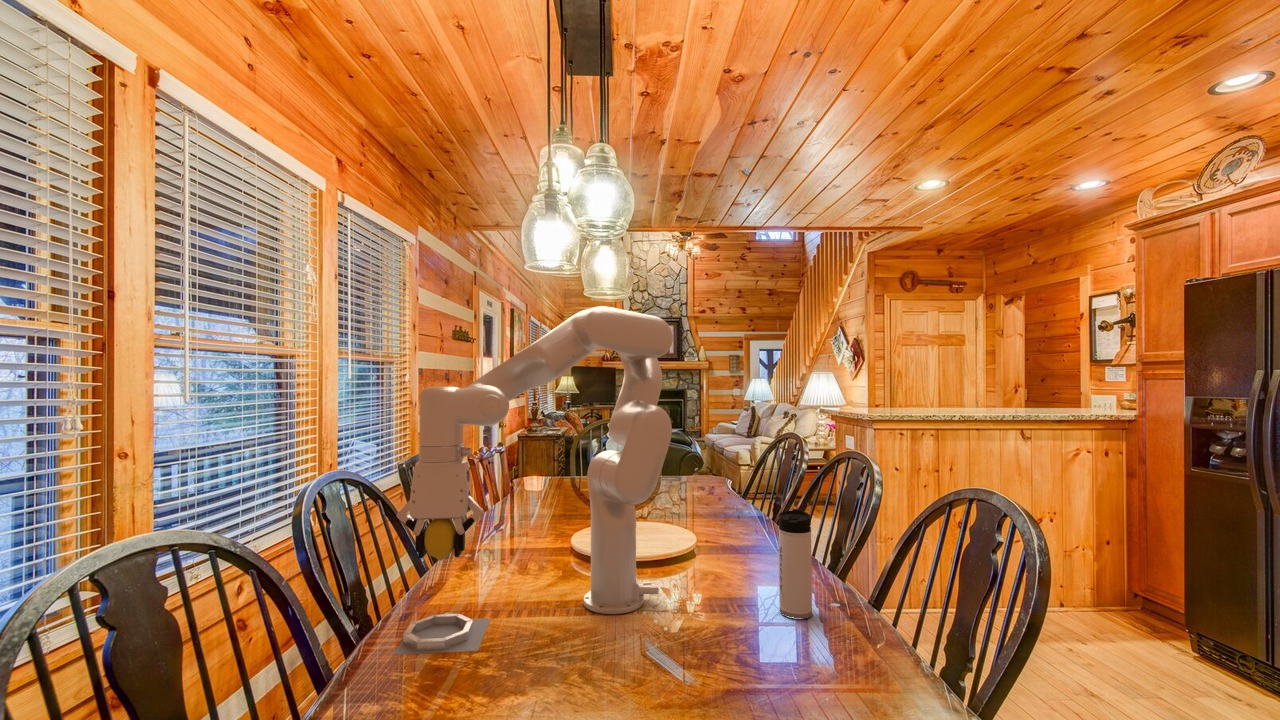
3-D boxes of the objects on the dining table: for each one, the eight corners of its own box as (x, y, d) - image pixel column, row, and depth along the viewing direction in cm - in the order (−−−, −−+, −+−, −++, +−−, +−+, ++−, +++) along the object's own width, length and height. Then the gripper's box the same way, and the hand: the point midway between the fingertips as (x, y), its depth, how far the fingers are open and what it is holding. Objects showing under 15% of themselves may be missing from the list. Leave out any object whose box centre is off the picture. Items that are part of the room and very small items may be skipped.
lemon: (446, 566, 99) (446, 520, 99) (417, 564, 100) (418, 518, 100) (462, 556, 104) (462, 512, 104) (435, 554, 105) (435, 511, 105)
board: (490, 623, 109) (490, 618, 109) (477, 656, 96) (477, 650, 96) (415, 626, 107) (415, 621, 107) (392, 660, 94) (392, 654, 94)
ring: (476, 620, 107) (476, 612, 107) (464, 648, 96) (464, 639, 96) (416, 623, 106) (416, 615, 106) (397, 651, 95) (397, 642, 95)
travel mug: (814, 609, 115) (813, 510, 115) (809, 622, 109) (808, 517, 109) (783, 604, 117) (782, 507, 118) (776, 616, 111) (775, 514, 112)
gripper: (493, 451, 107) (492, 547, 106) (399, 452, 105) (397, 550, 105) (486, 456, 100) (485, 560, 99) (384, 458, 98) (383, 564, 97)
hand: (440, 554), depth 102 cm, fingers closed on lemon, 5 cm apart
